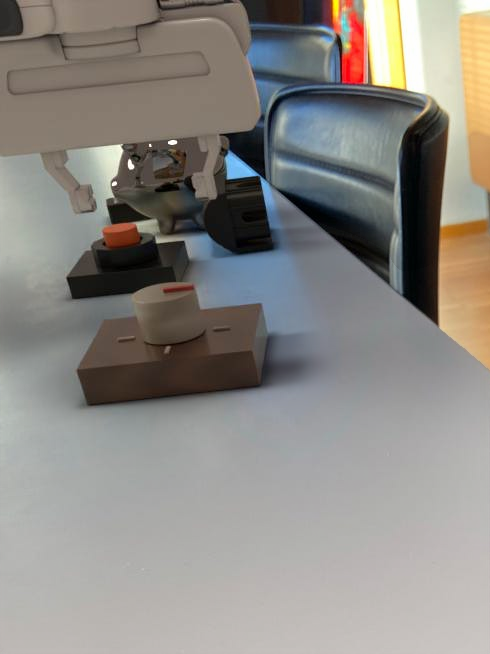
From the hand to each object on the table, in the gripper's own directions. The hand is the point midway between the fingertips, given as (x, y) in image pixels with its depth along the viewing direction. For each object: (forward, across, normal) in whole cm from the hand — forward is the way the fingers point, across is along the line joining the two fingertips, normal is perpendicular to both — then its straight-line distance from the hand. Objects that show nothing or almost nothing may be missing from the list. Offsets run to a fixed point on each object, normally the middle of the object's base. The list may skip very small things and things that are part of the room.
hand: (147, 205), depth 80 cm
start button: (+10, +9, -29) cm, 32 cm away
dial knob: (+10, 0, 0) cm, 10 cm away
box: (+13, +9, -29) cm, 33 cm away
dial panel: (+13, 0, 0) cm, 13 cm away
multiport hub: (+13, +11, -58) cm, 61 cm away
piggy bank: (+14, +6, -50) cm, 52 cm away
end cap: (+14, -2, -39) cm, 41 cm away
